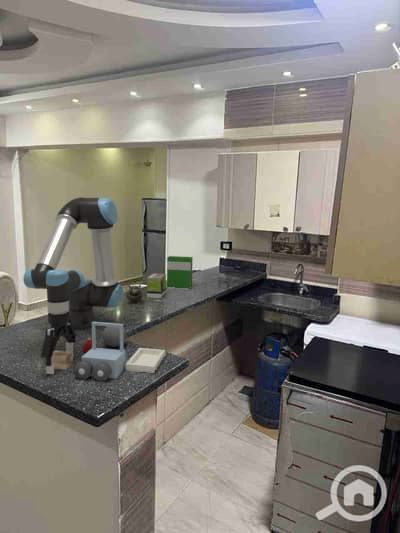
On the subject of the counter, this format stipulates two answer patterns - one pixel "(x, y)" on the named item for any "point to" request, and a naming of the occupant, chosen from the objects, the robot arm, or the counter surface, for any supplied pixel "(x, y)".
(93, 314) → the robot arm
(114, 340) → the decorative ball
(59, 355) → the block
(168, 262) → the hardback book
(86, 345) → the red rounded piece
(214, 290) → the counter surface
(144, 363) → the tray
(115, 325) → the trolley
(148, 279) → the tea box
